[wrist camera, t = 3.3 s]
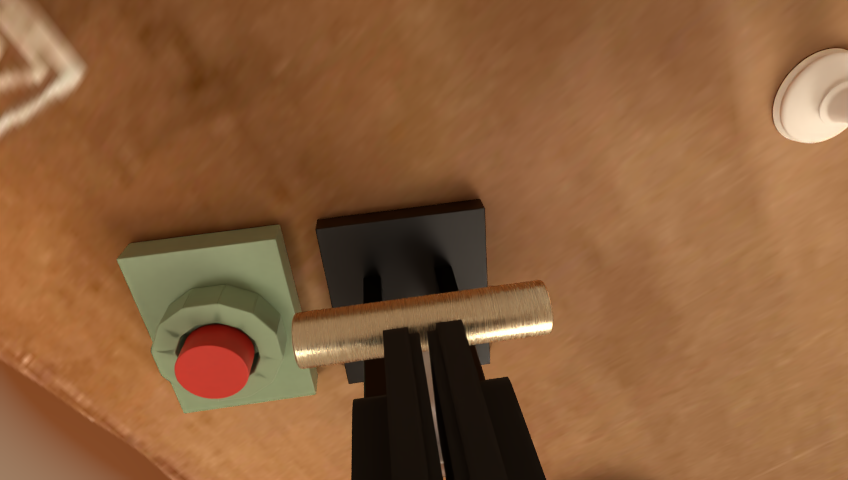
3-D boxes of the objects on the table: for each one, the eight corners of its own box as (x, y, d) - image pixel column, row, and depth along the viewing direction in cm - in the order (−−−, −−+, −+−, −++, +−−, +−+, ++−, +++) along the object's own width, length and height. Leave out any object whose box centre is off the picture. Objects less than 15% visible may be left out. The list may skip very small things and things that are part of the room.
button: (175, 328, 27) (163, 351, 25) (245, 319, 27) (238, 340, 26) (196, 380, 29) (186, 403, 27) (261, 370, 29) (256, 393, 27)
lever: (291, 283, 12) (289, 379, 11) (536, 250, 13) (564, 340, 11) (361, 431, 23) (365, 489, 22) (494, 411, 23) (506, 468, 22)
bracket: (317, 219, 28) (288, 391, 17) (480, 198, 29) (557, 352, 17) (349, 370, 34) (343, 578, 22) (486, 351, 34) (548, 544, 23)
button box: (128, 243, 28) (100, 278, 25) (280, 223, 28) (270, 256, 25) (191, 393, 33) (174, 437, 30) (317, 375, 33) (313, 417, 30)
